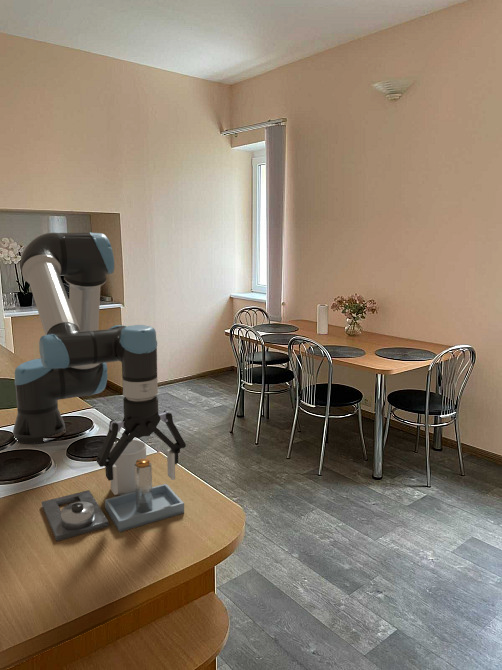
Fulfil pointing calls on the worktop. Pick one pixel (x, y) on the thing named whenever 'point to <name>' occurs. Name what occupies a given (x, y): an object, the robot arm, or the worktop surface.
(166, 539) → the worktop surface
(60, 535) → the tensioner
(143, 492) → the pin
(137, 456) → the mug
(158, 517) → the tray
